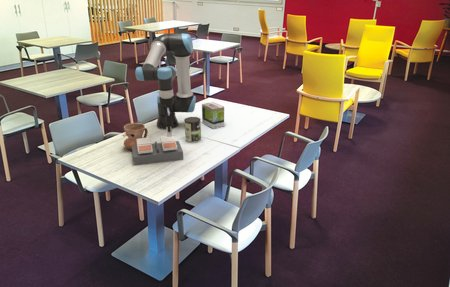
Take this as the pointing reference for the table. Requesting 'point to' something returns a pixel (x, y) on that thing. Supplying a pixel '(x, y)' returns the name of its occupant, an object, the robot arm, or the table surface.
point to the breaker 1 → (144, 145)
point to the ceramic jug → (134, 134)
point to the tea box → (213, 115)
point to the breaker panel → (157, 154)
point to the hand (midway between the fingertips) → (169, 136)
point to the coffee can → (192, 129)
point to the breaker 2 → (168, 143)
